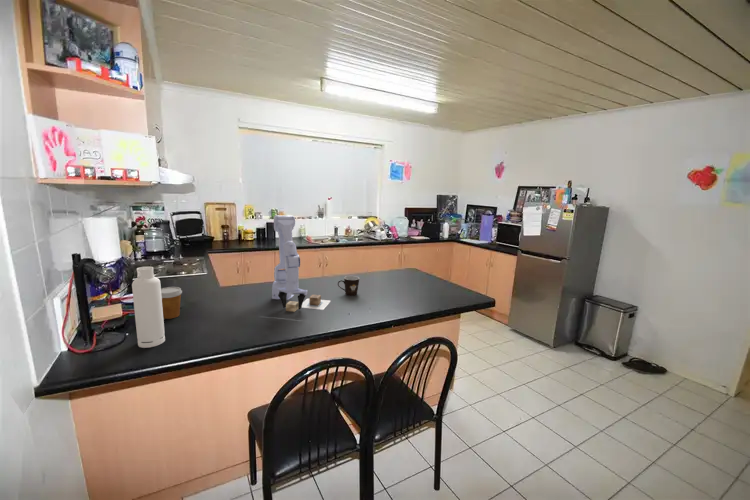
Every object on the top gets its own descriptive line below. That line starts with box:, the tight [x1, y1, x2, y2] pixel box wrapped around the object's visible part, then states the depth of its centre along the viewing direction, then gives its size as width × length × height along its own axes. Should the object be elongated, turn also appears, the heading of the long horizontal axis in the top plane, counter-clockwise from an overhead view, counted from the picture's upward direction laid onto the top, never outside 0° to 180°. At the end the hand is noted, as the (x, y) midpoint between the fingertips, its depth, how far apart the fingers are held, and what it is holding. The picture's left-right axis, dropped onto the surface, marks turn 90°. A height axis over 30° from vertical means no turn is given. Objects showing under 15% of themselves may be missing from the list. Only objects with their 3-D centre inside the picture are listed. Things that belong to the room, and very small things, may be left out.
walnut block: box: [309, 294, 322, 306], centre depth 157 cm, size 4×4×4 cm
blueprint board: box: [301, 298, 331, 311], centre depth 158 cm, size 13×13×1 cm
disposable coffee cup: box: [161, 286, 183, 320], centre depth 135 cm, size 10×10×12 cm
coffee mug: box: [337, 275, 360, 297], centre depth 175 cm, size 12×9×10 cm
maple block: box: [285, 300, 299, 313], centre depth 149 cm, size 4×4×4 cm
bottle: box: [131, 266, 166, 349], centre depth 111 cm, size 8×8×28 cm
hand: (292, 307), depth 149 cm, fingers open, 7 cm apart
